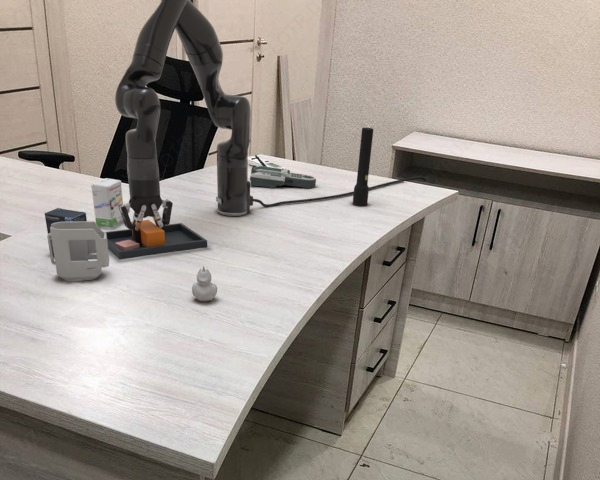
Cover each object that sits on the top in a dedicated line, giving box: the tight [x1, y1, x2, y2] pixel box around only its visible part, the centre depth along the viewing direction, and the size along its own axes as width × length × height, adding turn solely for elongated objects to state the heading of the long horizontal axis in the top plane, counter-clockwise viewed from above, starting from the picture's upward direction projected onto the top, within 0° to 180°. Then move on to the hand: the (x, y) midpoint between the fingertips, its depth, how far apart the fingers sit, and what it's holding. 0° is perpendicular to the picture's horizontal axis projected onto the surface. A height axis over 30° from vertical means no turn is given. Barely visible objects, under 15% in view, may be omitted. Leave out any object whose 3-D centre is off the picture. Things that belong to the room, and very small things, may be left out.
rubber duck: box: [191, 265, 218, 302], centre depth 135 cm, size 5×7×8 cm
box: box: [44, 207, 88, 257], centre depth 152 cm, size 8×6×11 cm
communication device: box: [249, 154, 317, 189], centre depth 226 cm, size 12×24×9 cm, turn 89°
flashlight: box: [352, 127, 374, 207], centre depth 205 cm, size 5×24×5 cm
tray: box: [98, 222, 208, 260], centre depth 164 cm, size 24×17×2 cm
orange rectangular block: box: [131, 219, 165, 248], centre depth 162 cm, size 5×11×5 cm, turn 33°
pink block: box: [115, 240, 140, 250], centre depth 160 cm, size 4×4×1 cm
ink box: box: [90, 177, 124, 228], centre depth 175 cm, size 8×5×12 cm, turn 167°
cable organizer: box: [46, 220, 110, 281], centre depth 140 cm, size 7×12×12 cm, turn 103°
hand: (148, 242), depth 163 cm, fingers closed on orange rectangular block, 5 cm apart
